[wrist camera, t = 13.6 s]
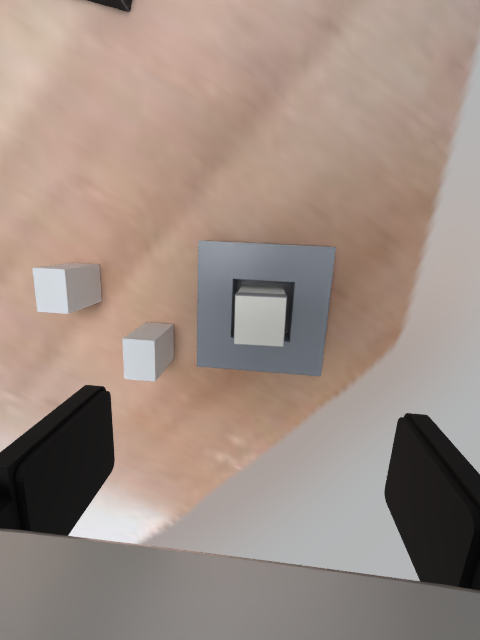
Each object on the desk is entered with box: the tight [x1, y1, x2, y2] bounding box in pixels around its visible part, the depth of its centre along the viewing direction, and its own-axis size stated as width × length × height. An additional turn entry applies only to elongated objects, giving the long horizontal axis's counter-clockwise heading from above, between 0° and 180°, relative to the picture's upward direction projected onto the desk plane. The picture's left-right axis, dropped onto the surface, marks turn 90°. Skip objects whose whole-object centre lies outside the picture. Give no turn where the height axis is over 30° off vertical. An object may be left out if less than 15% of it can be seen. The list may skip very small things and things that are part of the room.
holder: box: [197, 241, 336, 376], centre depth 32 cm, size 12×12×4 cm
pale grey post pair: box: [33, 263, 174, 381], centre depth 32 cm, size 11×10×6 cm
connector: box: [234, 284, 287, 347], centre depth 29 cm, size 4×4×7 cm
